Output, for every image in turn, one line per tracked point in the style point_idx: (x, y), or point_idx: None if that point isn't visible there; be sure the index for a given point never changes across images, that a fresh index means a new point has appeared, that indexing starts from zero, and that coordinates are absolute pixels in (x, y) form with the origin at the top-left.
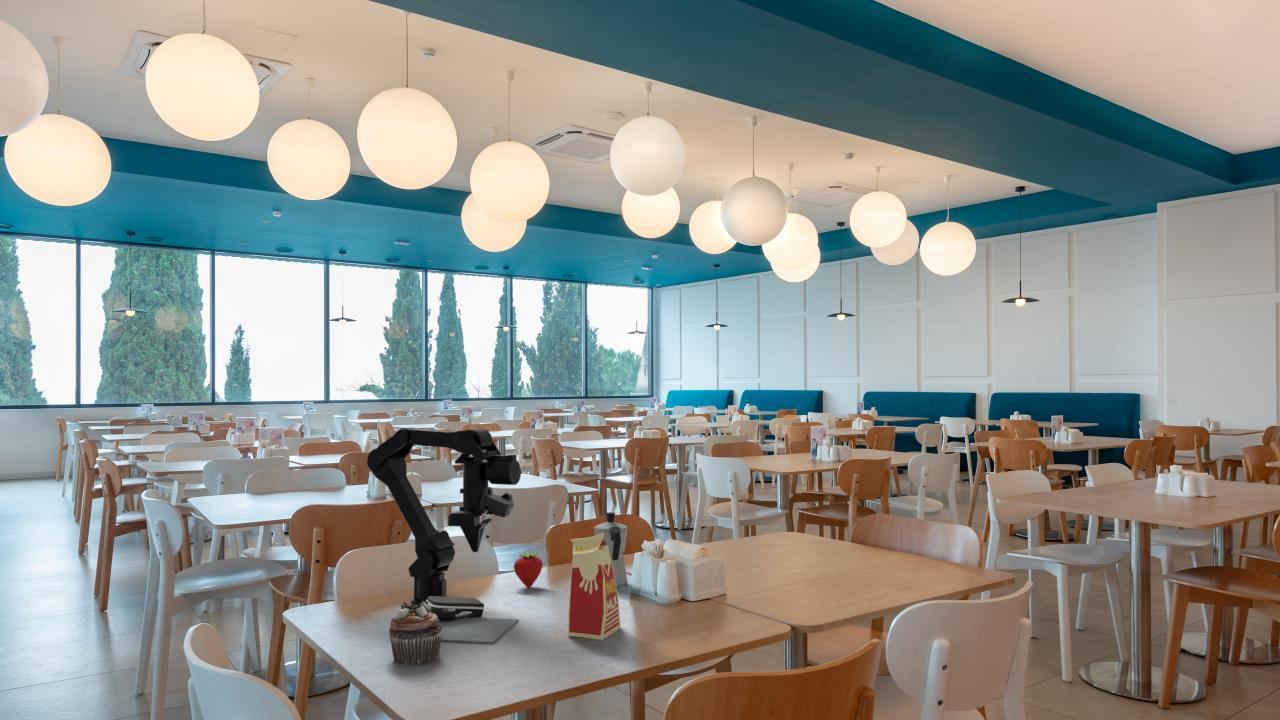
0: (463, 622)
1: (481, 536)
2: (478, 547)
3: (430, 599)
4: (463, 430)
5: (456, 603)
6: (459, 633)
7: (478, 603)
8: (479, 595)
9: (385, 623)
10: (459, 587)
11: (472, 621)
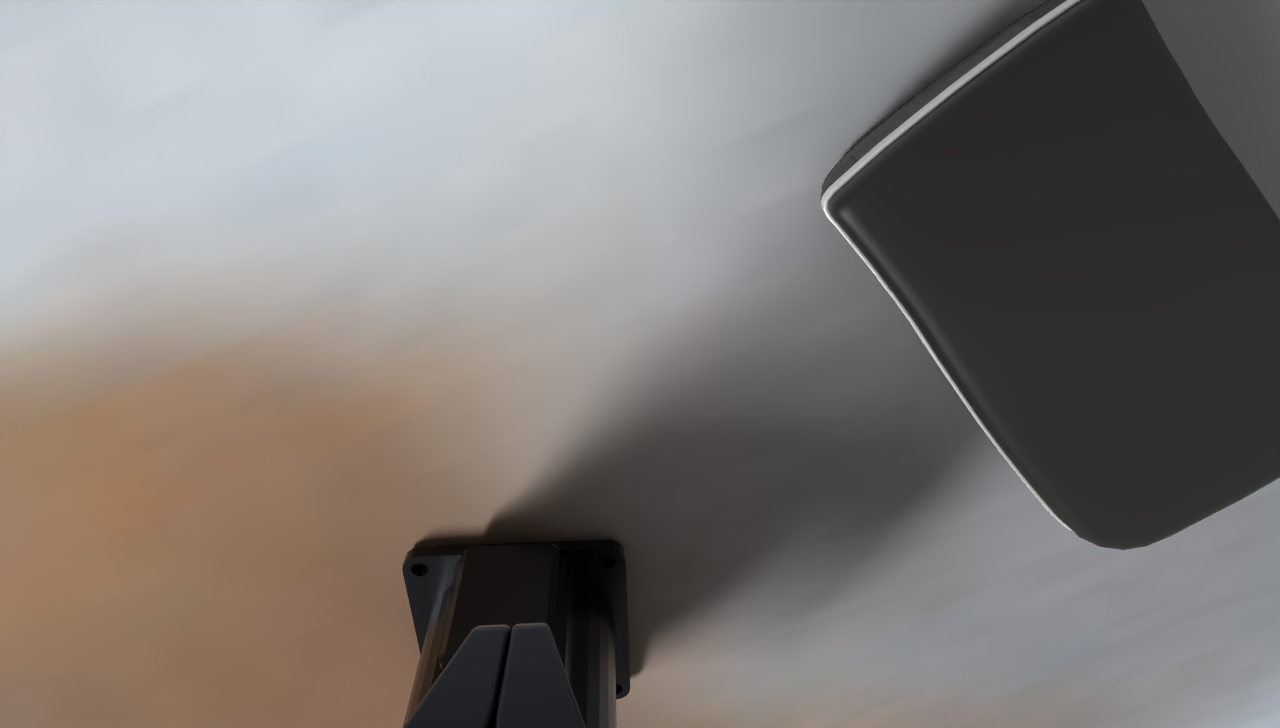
0: (1233, 105)
1: None
2: (496, 683)
3: (1252, 492)
4: None
5: None
6: None
7: (1153, 47)
8: (228, 351)
9: (1105, 619)
10: (66, 589)
11: (1213, 29)
